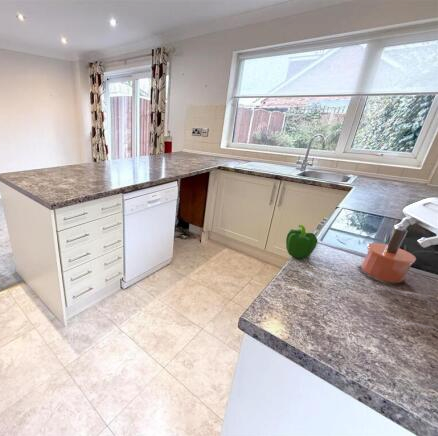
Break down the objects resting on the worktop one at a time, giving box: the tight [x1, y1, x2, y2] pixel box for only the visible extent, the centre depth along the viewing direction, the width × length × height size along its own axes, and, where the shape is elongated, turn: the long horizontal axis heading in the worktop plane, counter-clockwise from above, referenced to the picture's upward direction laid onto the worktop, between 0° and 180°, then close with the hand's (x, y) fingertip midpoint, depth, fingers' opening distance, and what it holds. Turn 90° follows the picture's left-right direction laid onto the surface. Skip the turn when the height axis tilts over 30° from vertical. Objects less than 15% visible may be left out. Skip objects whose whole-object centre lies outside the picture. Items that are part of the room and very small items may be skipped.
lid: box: [366, 228, 417, 264], centre depth 68 cm, size 10×10×8 cm
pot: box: [360, 249, 413, 284], centre depth 71 cm, size 9×9×7 cm
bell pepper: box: [285, 224, 318, 259], centre depth 79 cm, size 8×8×10 cm
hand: (407, 236), depth 67 cm, fingers open, 8 cm apart
